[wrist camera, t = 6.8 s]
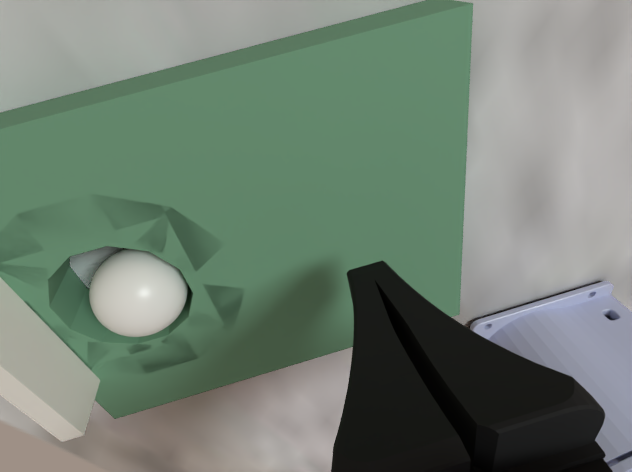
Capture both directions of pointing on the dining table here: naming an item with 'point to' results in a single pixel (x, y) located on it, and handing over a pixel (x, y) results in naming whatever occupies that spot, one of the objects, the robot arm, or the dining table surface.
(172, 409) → the dining table surface
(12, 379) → the green
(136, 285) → the ball
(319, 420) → the dining table surface
